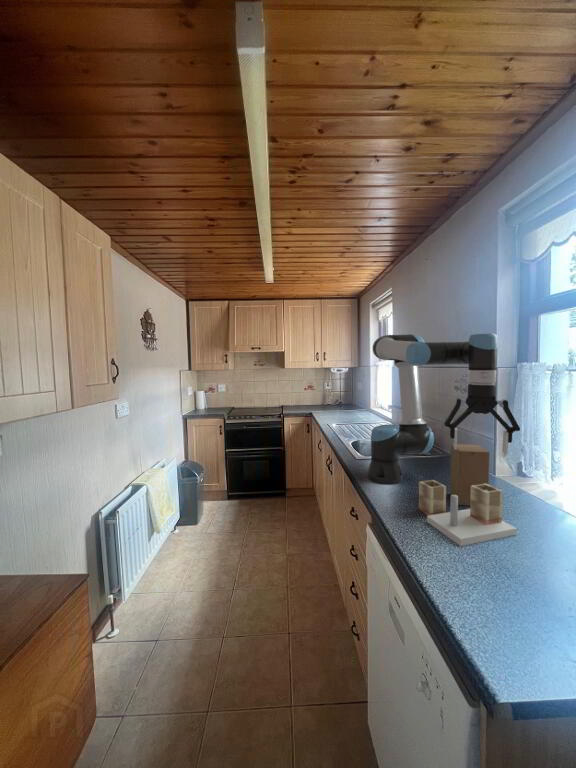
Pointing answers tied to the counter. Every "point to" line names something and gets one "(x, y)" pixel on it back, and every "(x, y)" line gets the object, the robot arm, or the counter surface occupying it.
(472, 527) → the pin board
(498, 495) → the sleeve seated
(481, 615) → the counter surface
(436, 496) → the sleeve
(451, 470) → the wooden block
